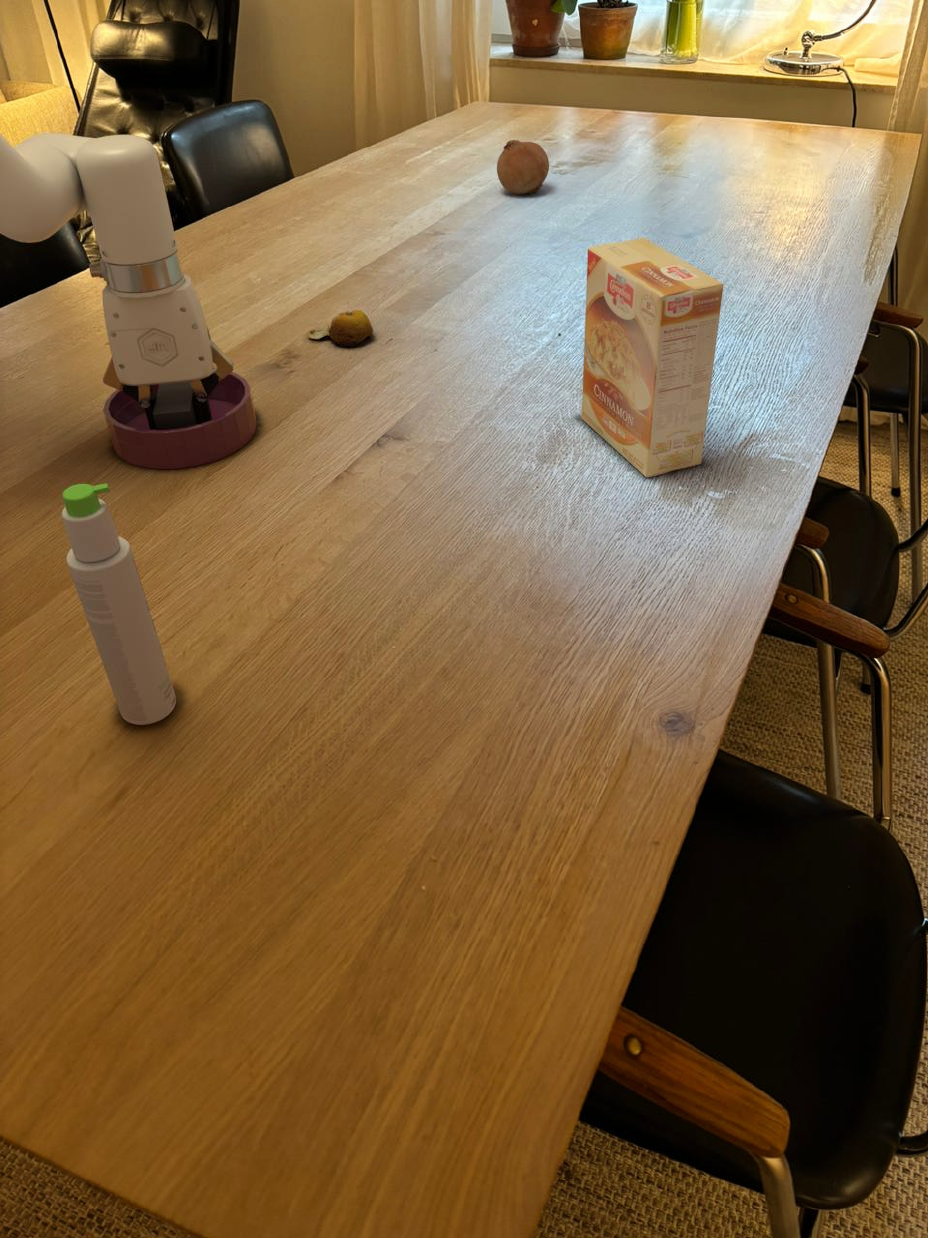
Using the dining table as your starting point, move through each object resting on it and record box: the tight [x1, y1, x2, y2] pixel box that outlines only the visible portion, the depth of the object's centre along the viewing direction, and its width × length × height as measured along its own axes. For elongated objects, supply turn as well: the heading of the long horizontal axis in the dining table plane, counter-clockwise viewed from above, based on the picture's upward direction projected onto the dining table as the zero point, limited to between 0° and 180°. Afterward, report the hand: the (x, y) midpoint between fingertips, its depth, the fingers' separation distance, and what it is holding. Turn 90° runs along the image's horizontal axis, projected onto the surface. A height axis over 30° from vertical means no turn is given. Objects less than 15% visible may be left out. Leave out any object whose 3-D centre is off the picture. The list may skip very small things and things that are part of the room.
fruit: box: [307, 309, 374, 348], centre depth 133 cm, size 8×8×4 cm
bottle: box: [61, 482, 177, 726], centre depth 73 cm, size 4×4×20 cm
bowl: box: [102, 367, 257, 470], centre depth 113 cm, size 16×16×4 cm
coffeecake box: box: [580, 237, 725, 478], centre depth 103 cm, size 15×7×20 cm, turn 22°
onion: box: [496, 139, 550, 196], centre depth 180 cm, size 10×9×10 cm
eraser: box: [153, 381, 198, 430], centre depth 111 cm, size 4×8×5 cm, turn 8°
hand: (182, 430), depth 112 cm, fingers closed on eraser, 4 cm apart
